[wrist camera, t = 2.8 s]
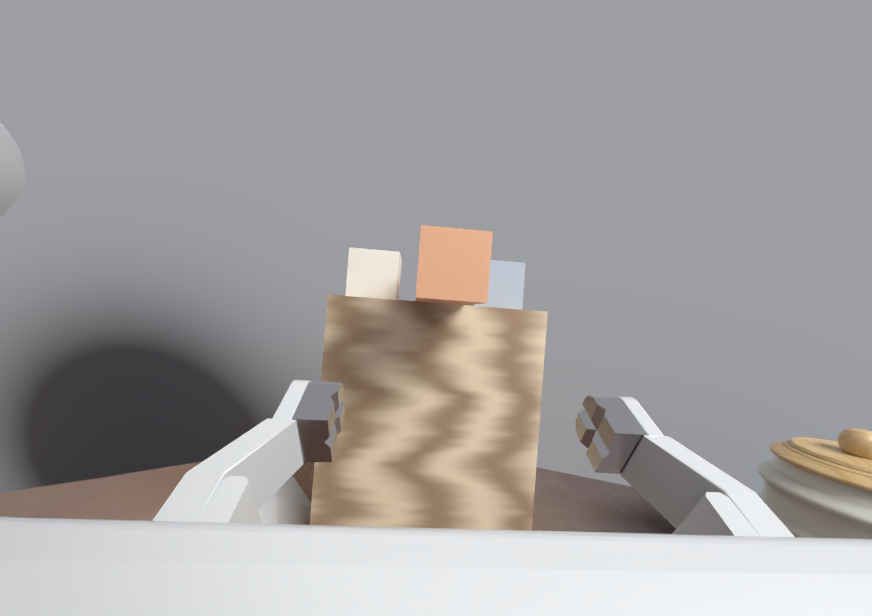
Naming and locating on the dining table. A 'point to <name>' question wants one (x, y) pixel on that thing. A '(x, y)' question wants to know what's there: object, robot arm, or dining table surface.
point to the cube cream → (373, 274)
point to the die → (287, 506)
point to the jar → (821, 485)
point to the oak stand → (431, 415)
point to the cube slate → (505, 285)
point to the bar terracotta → (453, 265)
